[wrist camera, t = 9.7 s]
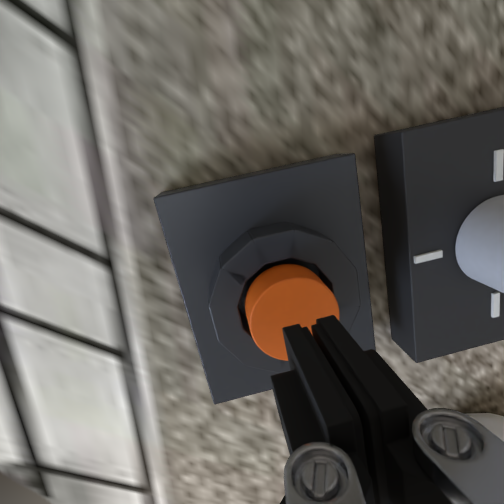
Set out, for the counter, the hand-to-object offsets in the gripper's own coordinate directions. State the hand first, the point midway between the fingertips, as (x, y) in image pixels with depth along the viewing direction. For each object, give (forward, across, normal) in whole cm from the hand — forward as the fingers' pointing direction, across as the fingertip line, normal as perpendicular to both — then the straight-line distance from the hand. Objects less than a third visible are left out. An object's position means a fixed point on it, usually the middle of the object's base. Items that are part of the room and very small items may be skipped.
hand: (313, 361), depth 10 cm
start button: (+4, 0, 0) cm, 4 cm away
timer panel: (+8, -11, 0) cm, 14 cm away
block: (+8, 0, 0) cm, 8 cm away
